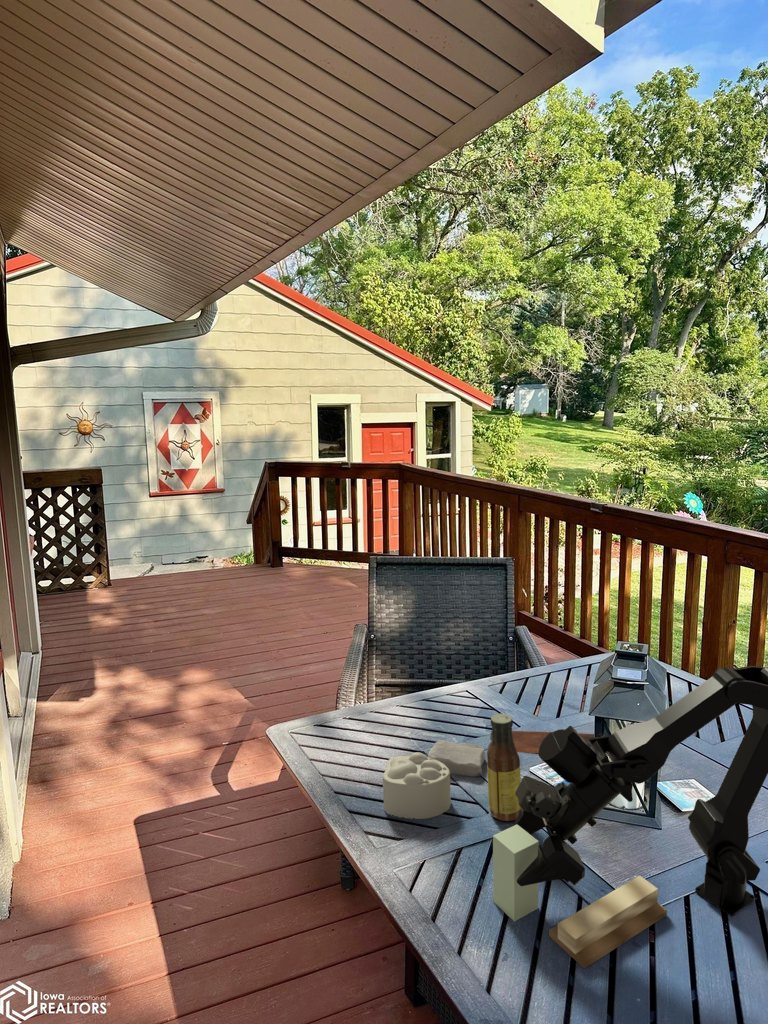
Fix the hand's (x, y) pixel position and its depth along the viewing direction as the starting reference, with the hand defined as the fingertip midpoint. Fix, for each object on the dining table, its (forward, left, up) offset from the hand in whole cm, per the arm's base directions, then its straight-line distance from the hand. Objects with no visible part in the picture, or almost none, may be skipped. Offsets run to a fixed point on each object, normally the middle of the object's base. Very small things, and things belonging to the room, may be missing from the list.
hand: (512, 862), depth 109 cm
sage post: (0, 0, -8) cm, 8 cm away
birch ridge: (-9, +11, -8) cm, 17 cm away
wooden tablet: (-39, -33, -9) cm, 52 cm away
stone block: (-18, -38, -8) cm, 43 cm away
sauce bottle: (-14, -19, -8) cm, 25 cm away
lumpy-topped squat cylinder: (-2, -31, -8) cm, 32 cm away
